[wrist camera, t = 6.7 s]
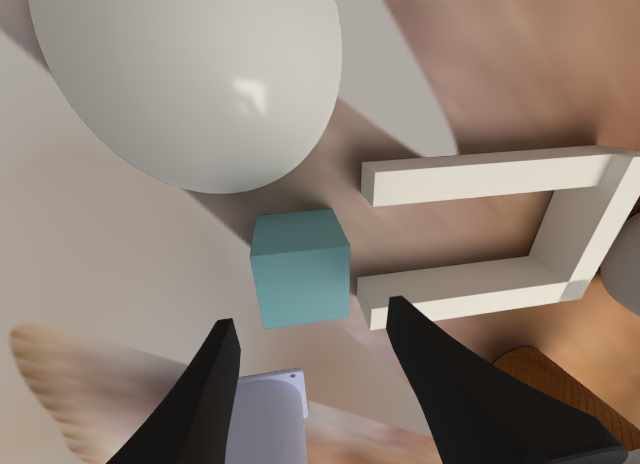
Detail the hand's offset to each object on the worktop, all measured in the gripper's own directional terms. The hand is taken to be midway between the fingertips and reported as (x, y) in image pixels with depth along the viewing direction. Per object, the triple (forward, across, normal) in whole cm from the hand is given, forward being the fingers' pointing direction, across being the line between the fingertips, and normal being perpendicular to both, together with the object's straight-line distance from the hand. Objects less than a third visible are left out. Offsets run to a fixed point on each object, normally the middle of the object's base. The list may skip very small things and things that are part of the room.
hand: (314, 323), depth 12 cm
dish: (+7, +4, -11) cm, 14 cm away
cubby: (+7, -13, 0) cm, 15 cm away
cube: (+7, 0, 0) cm, 7 cm away
